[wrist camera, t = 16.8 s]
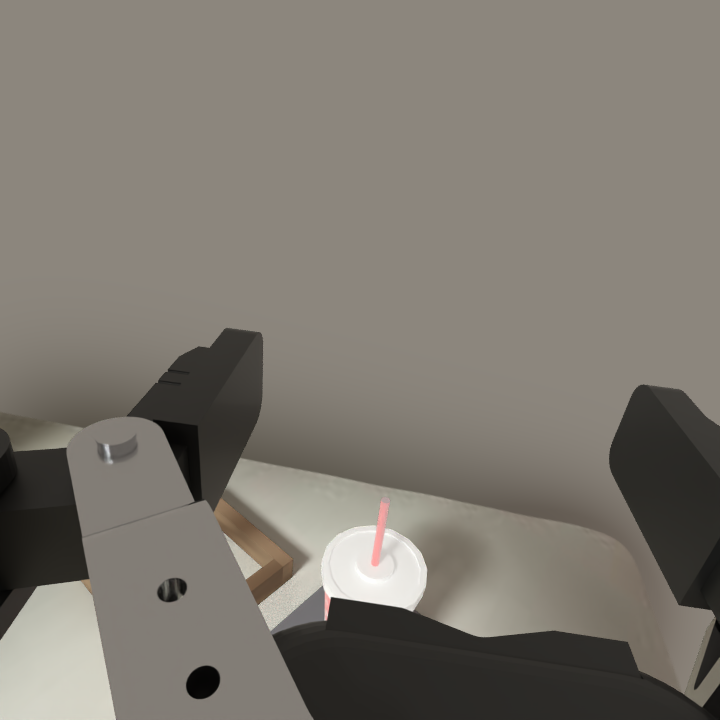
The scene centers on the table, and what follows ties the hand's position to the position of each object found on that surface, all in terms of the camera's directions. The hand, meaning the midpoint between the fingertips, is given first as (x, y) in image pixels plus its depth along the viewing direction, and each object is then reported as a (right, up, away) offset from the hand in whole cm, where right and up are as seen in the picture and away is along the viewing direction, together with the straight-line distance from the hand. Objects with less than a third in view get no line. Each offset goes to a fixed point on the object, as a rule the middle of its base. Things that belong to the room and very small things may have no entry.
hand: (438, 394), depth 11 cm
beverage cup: (-2, -19, +23) cm, 30 cm away
